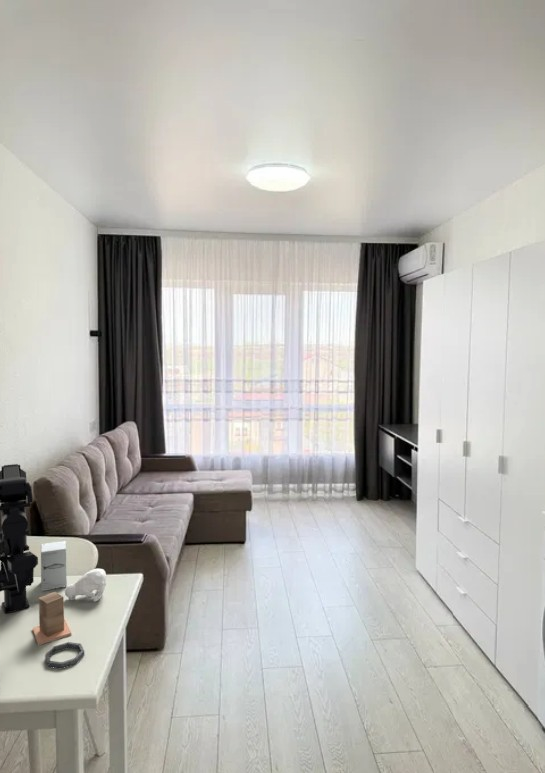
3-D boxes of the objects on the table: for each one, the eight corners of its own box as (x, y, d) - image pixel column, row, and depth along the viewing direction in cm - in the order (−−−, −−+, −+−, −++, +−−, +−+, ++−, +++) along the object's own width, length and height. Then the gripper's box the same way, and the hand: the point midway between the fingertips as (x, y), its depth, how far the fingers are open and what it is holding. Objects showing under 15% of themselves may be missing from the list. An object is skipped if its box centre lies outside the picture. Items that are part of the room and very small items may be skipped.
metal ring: (43, 654, 122) (43, 649, 122) (78, 643, 127) (78, 638, 127) (50, 672, 115) (49, 667, 115) (87, 660, 120) (87, 655, 120)
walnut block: (39, 630, 131) (38, 597, 130) (55, 623, 134) (55, 591, 134) (47, 637, 128) (47, 603, 127) (64, 629, 132) (63, 596, 131)
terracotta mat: (32, 630, 132) (32, 627, 132) (64, 620, 137) (64, 618, 137) (38, 645, 126) (38, 642, 126) (71, 634, 130) (71, 632, 130)
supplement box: (41, 592, 153) (40, 552, 152) (41, 581, 160) (40, 543, 159) (67, 587, 156) (66, 548, 155) (66, 577, 163) (65, 539, 162)
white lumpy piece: (103, 573, 147) (60, 580, 144) (107, 600, 148) (64, 608, 145) (106, 563, 153) (64, 570, 151) (109, 590, 154) (68, 597, 151)
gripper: (-29, 526, 132) (-28, 585, 132) (-12, 542, 118) (-10, 607, 119) (16, 518, 140) (18, 573, 140) (37, 532, 126) (39, 593, 126)
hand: (15, 586), depth 131 cm, fingers open, 9 cm apart
